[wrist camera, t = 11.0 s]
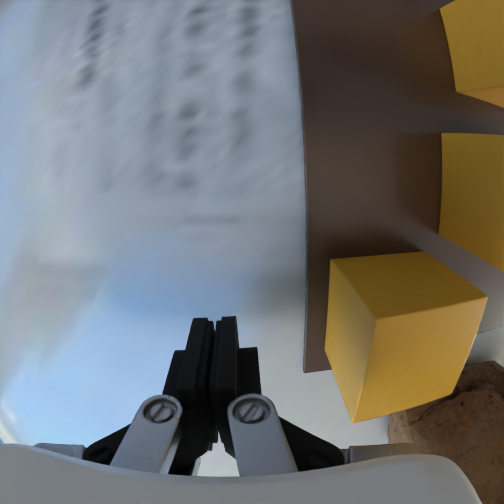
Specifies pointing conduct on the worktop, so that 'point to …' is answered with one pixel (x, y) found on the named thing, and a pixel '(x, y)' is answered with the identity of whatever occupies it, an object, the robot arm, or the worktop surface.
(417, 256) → the ochre block
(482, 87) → the ochre block
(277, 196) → the worktop surface
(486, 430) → the brown rounded lump
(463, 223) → the ochre block
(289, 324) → the worktop surface
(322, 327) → the mat
